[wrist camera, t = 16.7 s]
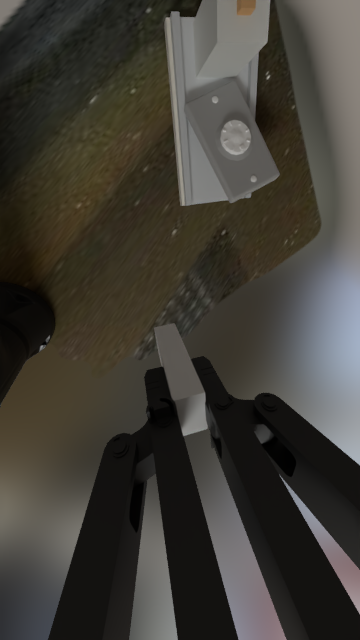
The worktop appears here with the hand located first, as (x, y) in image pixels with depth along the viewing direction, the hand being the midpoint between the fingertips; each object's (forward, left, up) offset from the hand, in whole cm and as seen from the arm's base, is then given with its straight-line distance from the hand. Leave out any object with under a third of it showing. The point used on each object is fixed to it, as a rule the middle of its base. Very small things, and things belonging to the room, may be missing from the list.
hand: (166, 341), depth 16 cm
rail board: (+16, +18, -29) cm, 38 cm away
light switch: (+16, +15, -28) cm, 36 cm away
